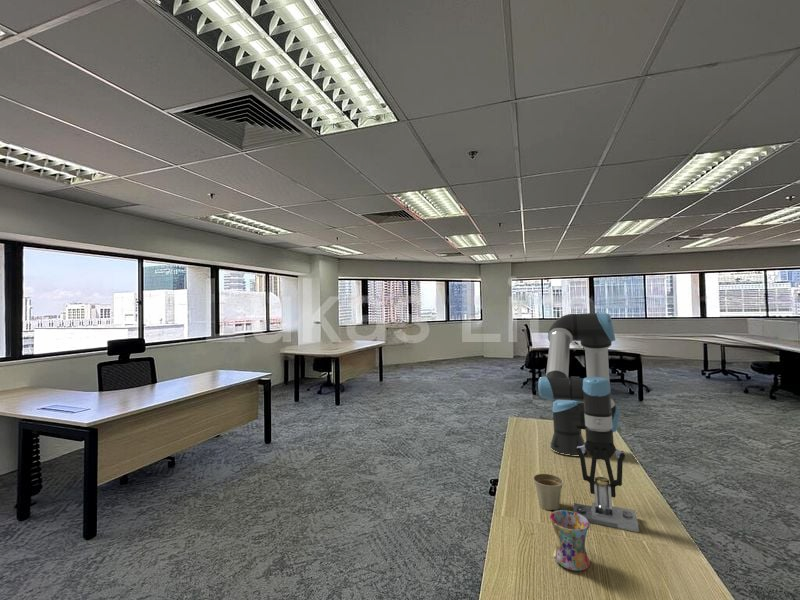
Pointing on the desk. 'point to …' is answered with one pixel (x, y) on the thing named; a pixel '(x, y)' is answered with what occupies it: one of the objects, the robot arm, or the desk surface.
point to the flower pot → (548, 490)
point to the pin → (602, 495)
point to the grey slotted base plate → (609, 517)
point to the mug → (570, 539)
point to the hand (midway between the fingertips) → (603, 505)
